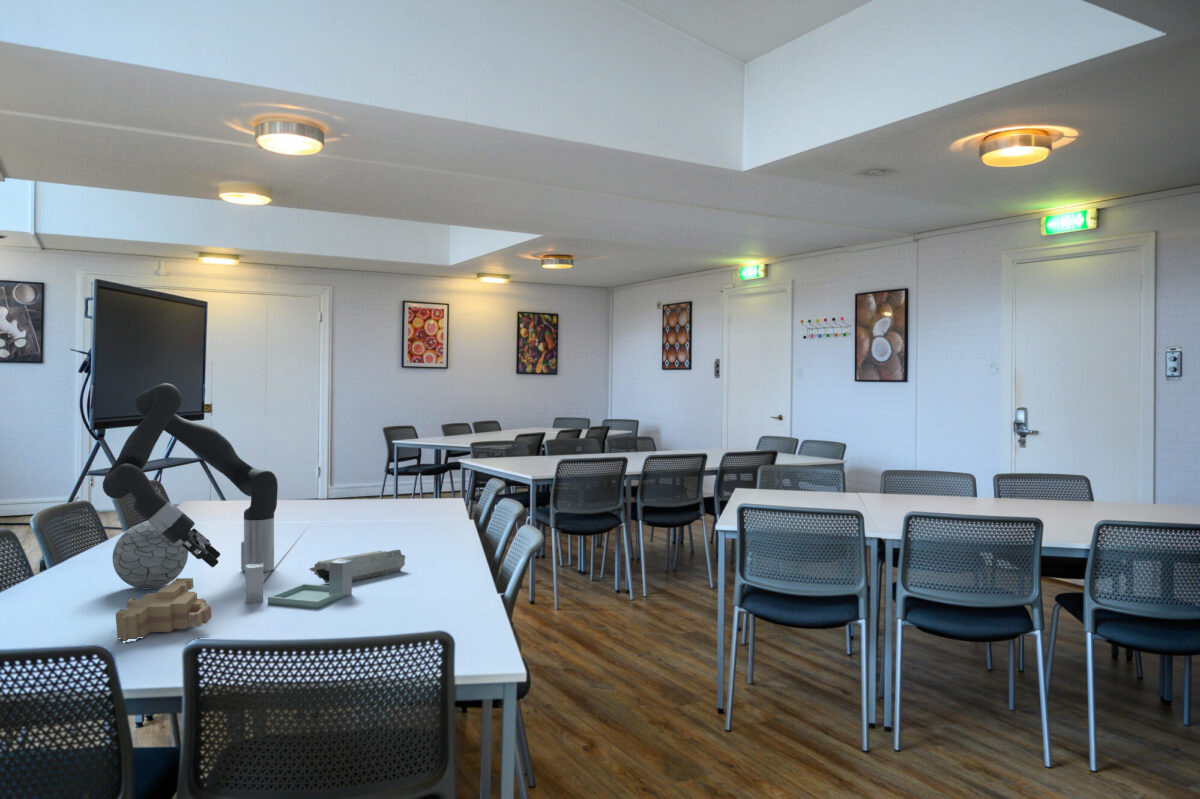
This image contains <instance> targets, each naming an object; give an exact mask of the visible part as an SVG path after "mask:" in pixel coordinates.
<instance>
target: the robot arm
mask: <svg viewBox="0 0 1200 799" xmlns="http://www.w3.org/2000/svg"><path fill="white" fill-rule="evenodd" d="M182 402H183V397H182V393H181V391H180V390H179V389H178V388H177V387H176V386H175V385H174V384H171V383H167V382H164V383H160V384H157V385H155V386H153V387H151V388H148V389H147V390H144V391H142V392H141V393H139V394H138V395H137V396H136V397H135V398H134V407H135V408H136V410H137V412H138V413H139V414H140V416H142V417H143V418H144V419H143V420H142V421H140V423H139V424H138V425H137V426H136V427H135V429H134V430H133V431H132V432H131V433H130V434H129V436H128V437H127V439H126V441H125V443H124V444H123V447H122V449H121V451H120V452H119V455H118V457H117V459H116V460H115V462H113V465H112V466H111V467H110V469H109V470H108V472H107V473H106V475H105V477H104V479H103V481H102V489H103V490H102V491H103V492H104V493H105V495H106V496H107V497H109V498H112V499H116V500H117V499H122V498H124V497H127V496H128V495H129V494H131V495H132V496H133V498H134V502H133V504H132V508H133V510H135V511H136V513H138V514H139V515H140V516H141V517H142V518H144V519H145V520H146V521H147V522H149V523H150V524H151V525H152V526H153V527H154V528H155V529H156V530H158V531H159V532H160V533H161V534H162V535H163V536H165V537H166V538H167V539H168V540H169V541H171V542H172V543H176V542H177V541H178V540H180V539H181V540H182V541H183V542H184V543H183V544H182V546H183V547H184V548H186V549H187V550H188V553H190V554H191V555H192V556H194V557H195V559H197V560H202V561H203V562H205V563H206V564H207V565H208V566H210V567H211V568H215V567H216V566H217V565H218V564H219V560H218V558H220V556H221V552H219V551H218V550H217V549H216V548H215V547H214V546H212V544H211V542H210V539H208V538H207V537H205V536H204V535H203V534H202V533H201V532H199V531H198V530H197V529H196V528H194V526H195V521H194V520H193V519H191V518H190V517H189V516H188V515H187V514H185V513H184V512H183V511H182V510H181V509H180V508H178V507H177V506H176V505H174V504H173V503H171V502H170V501H168V499H166V498H165V497H164V496H163V495H162V494H160V493H159V492H158V491H157V490H156V488H155V487H154V485H153V483H152V482H151V481H150V479H149V478H148V476H147V475H146V474H145V472H144V471H143V469H144V467H145V466H146V465H147V463H148V461H149V459H150V458H151V457H150V456H151V455H152V452H153V450H154V448H155V445H156V444H157V443H158V440H159V439H160V437H161V435H162V433H163V432H166V433H167V434H168V435H170V436H172V437H173V438H174V439H176V440H177V441H179V442H180V443H181V444H182V445H184V446H185V447H186V448H187V449H189V450H190V451H191V452H193V454H195V455H197V456H198V457H199V458H200V459H201V460H202V461H204V462H205V463H207V464H208V465H209V466H211V467H213V468H214V469H215V470H216V471H218V472H219V473H221V475H223V476H225V477H226V478H227V479H228V480H229V481H230V482H231V483H232V484H233V485H234V486H235V487H236V488H237V489H238V490H239V491H240V492H241V493H242V494H243V495H245V496H247V497H250V506H249V507H248V508H247V509H244V511H243V541H241V542H240V546H241V547H240V570H242V571H241V572H244V571H245V568H246V565H250V564H263V573H265V572H266V573H267V572H271V571H273V570H274V569H275V512H276V510H277V505H278V490H279V488H278V484H279V483H278V478H277V476H276V475H275V473H273V472H272V471H270V470H265V469H258V468H255V467H253V466H251V465H249V464H248V463H247V462H245V461H244V460H243V459H242V458H241V457H240V456H238V454H237V452H236V451H235V449H234V447H233V445H232V444H231V442H230V441H229V440H228V439H227V438H226V437H225V436H223V435H222V434H221V433H220V432H219V431H217V430H216V429H215V428H213V427H211V426H209V425H206V424H204V423H200V422H196V421H192V420H189V419H185V418H184V417H181V416H180V415H178V414H177V412H178V411H179V409H180V408H181V406H182V404H183V403H182Z"/></svg>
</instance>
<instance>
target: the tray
mask: <svg viewBox="0 0 1200 799" xmlns="http://www.w3.org/2000/svg"><path fill="white" fill-rule="evenodd" d="M341 599H343V591H339V592H336V593H334V594H332V595H329V585H324V584H313V583H301V584H299V585H296V586H294V587H291V588H289V589H286V590H283V591H281V592H278V593H276V594H273V595H270V596H268V597H267V605H273V606H283V607H293V608H302V609H315V610H319V609H320V608H323V607H325V605H326V606H328V605H331V604H332V603H334V602H337V601H340V600H341Z"/></svg>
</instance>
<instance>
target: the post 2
mask: <svg viewBox="0 0 1200 799" xmlns="http://www.w3.org/2000/svg"><path fill="white" fill-rule="evenodd" d="M352 583H353V581H352V560H343V559H338V560H335V561H332V562H329V583H328V586H329V595H332V594H334V593H336V592H339V591H343V597H344V598H345V596H346V597H349V596H351V595H353V594H352V592H353V591H352V589H353V585H352ZM350 594H351V595H350ZM348 595H349V596H348Z"/></svg>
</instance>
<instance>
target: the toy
mask: <svg viewBox="0 0 1200 799" xmlns="http://www.w3.org/2000/svg"><path fill="white" fill-rule="evenodd" d="M192 589H194V578H193V577H191V578H190V577H188V578H186V577H185V578H184V577H182V578H180V577H179V578H178V577H176V578H175V579H174V580H173V581H171V582H170V583H169V584H167V585H164V586H162V587H160V589H159V590H158V591H156V592H155V593H154V592H153V593H150V592H149V593H148V592H147V593H146V594H145V595H143V596H142V597H141V598H139V599H136V597H133V596H132V597H131V598H129V599H128V600H127V601H126V607H127V608H122V609H119V610H117V612H115V624H116V625H115V626H116V637H117V639H118V638H122V639H121V640H122V642H123V641H127V640H128V639H137V638H138V637H144V636H145V635H146V636H147V635H148V634H150V633H166V632H167V633H168V632H169V633H171V632H173V630H174V629H175V630H179V629H180V630H181V629H184V630H185V629H186V630H187V629H188V628H189V627H190V626H191V625H192V627H195V628H196V627H197V628H198V627H201V626H202V625H203V624H207V623H208V622H209V621H210V620H211V619H212V608H211V605H207V604H208V603H207V600H206V599H205V598H198V593H197V592H196V591H191V590H192ZM146 636H145V637H146ZM145 637H144V638H145Z"/></svg>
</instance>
